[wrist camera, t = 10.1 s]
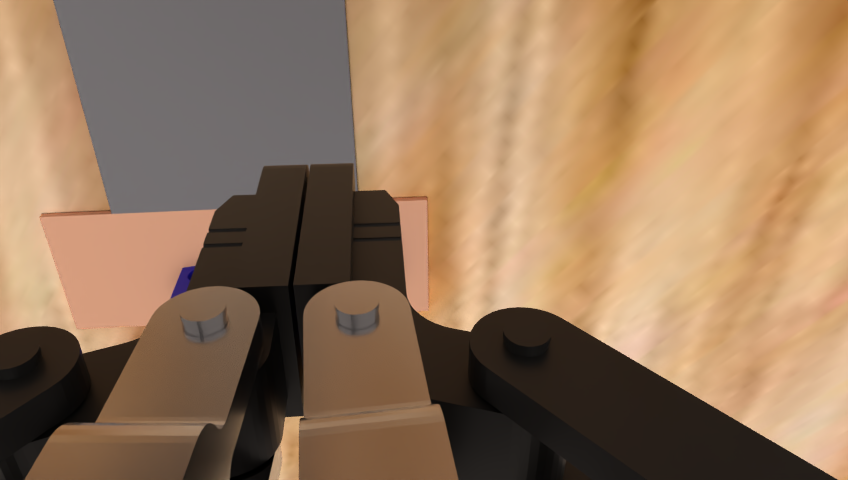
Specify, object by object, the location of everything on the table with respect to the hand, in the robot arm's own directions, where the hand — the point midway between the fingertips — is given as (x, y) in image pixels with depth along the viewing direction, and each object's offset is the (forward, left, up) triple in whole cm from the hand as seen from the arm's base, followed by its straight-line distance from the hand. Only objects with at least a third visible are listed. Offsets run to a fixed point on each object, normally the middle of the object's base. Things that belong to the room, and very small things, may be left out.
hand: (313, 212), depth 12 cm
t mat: (+11, -7, -26) cm, 29 cm away
